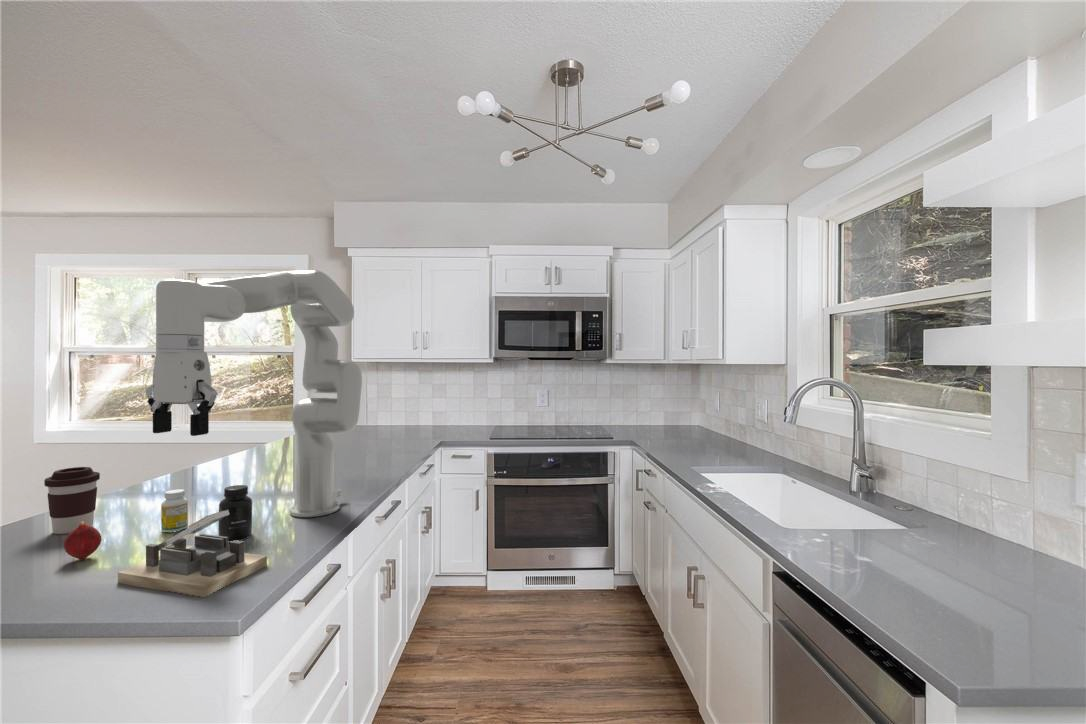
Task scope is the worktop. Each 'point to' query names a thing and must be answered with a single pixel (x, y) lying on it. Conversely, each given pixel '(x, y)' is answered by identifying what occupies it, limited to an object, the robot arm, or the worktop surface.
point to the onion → (82, 541)
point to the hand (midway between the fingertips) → (180, 433)
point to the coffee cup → (71, 498)
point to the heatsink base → (191, 580)
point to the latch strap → (194, 528)
